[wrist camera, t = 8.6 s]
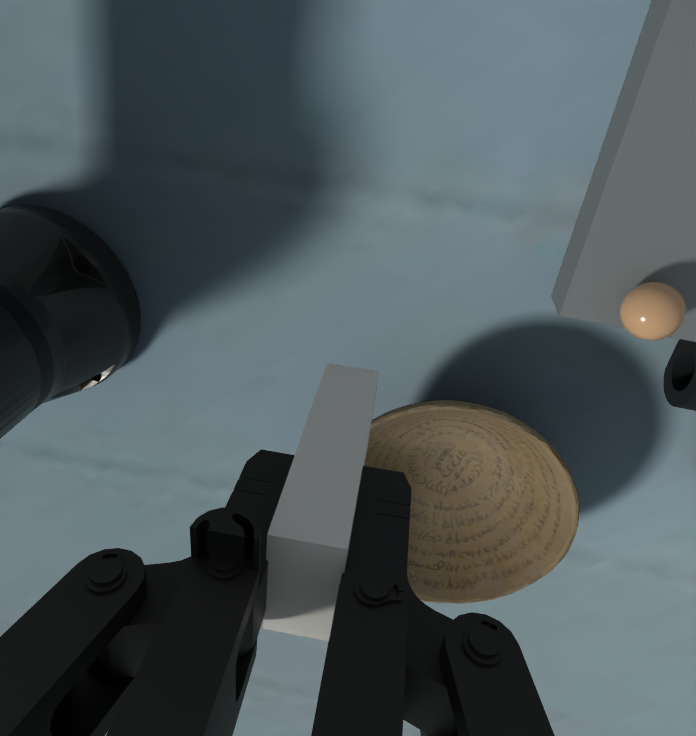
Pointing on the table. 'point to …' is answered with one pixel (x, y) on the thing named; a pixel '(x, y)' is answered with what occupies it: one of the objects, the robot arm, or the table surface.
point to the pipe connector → (681, 376)
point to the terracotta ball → (652, 311)
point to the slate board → (642, 183)
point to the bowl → (476, 498)
